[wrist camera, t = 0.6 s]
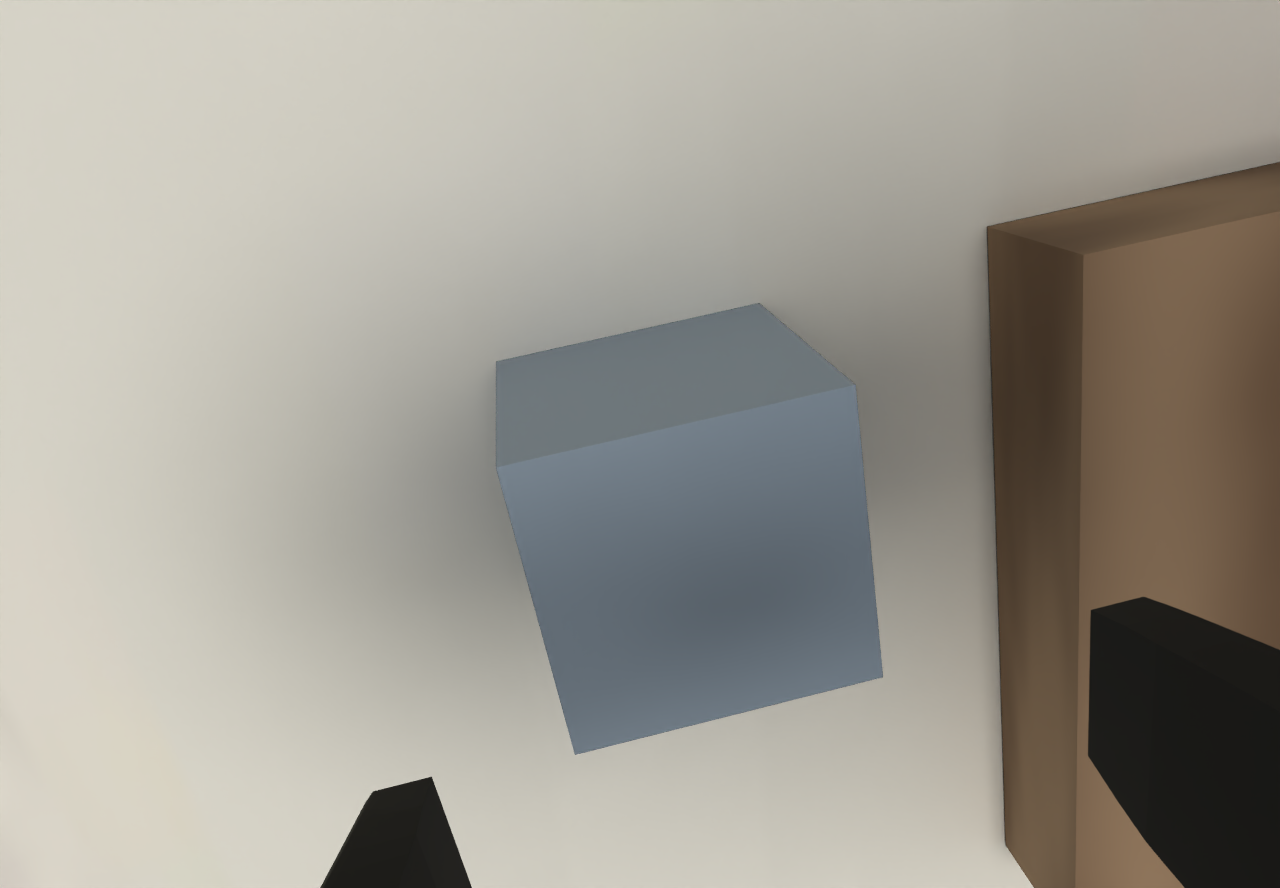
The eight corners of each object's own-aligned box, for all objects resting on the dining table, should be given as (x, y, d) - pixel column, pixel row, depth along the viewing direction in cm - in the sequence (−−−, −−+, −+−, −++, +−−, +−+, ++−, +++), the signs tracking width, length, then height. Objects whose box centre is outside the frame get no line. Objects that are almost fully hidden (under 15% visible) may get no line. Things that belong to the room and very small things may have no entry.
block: (757, 302, 17) (856, 384, 12) (789, 531, 19) (883, 677, 14) (496, 360, 16) (495, 467, 12) (555, 588, 18) (574, 754, 14)
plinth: (1473, 119, 17) (1656, 125, 15) (1362, 749, 24) (1475, 836, 21) (987, 226, 17) (1083, 254, 14) (1005, 844, 23) (1074, 948, 20)
